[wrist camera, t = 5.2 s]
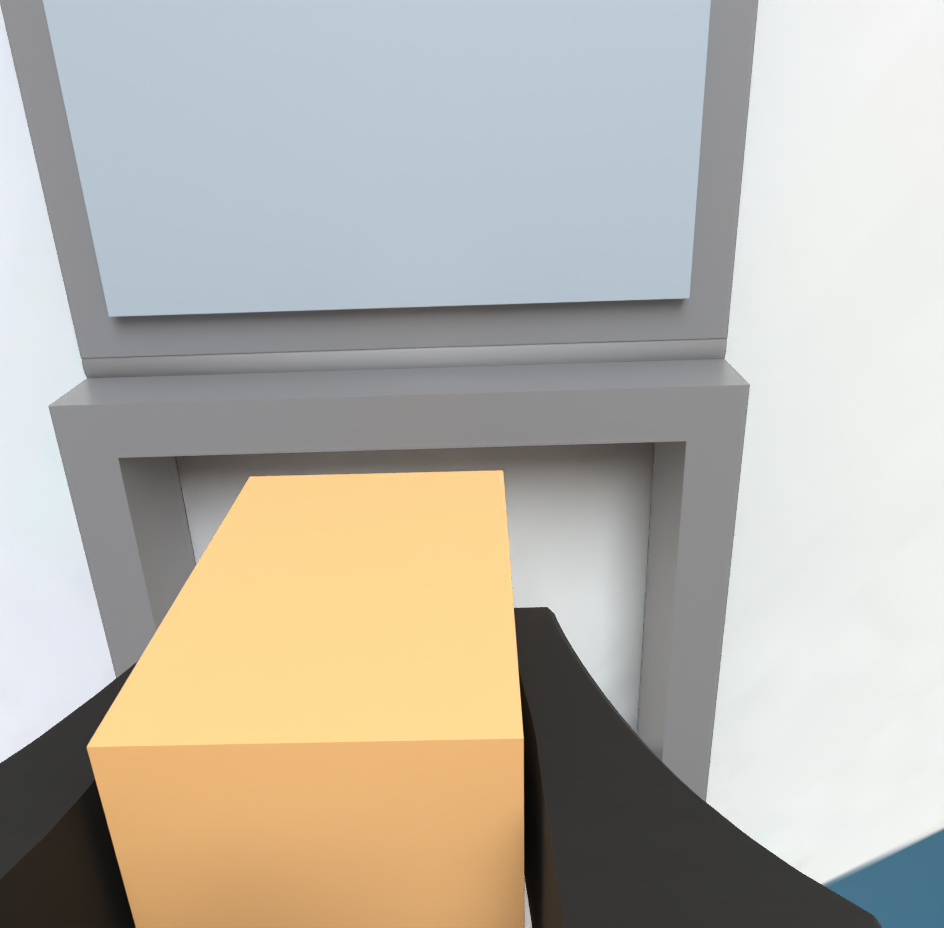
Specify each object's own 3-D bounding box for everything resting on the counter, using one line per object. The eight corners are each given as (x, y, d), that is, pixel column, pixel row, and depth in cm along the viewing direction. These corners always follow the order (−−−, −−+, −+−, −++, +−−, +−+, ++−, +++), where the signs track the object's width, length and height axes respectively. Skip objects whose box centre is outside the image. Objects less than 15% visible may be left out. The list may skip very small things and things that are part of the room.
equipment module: (286, 726, 15) (178, 1084, 10) (249, 476, 13) (86, 746, 8) (507, 722, 15) (525, 1079, 10) (503, 470, 13) (523, 738, 8)
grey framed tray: (199, 789, 25) (165, 873, 22) (-70, -460, 14) (-201, -596, 11) (674, 778, 25) (699, 862, 22) (782, -499, 14) (858, -648, 11)
